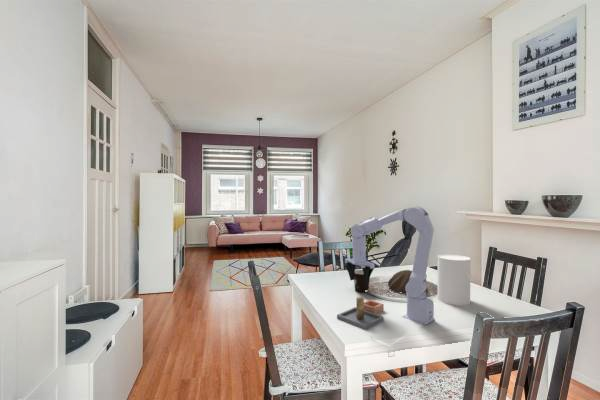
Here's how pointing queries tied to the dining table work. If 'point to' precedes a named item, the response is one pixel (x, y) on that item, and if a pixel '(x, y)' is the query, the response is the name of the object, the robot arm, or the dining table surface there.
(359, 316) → the oak peg
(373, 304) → the terracotta square socket
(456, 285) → the canister
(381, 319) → the slate tray
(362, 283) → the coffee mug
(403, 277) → the decorative dome
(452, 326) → the dining table surface
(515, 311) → the dining table surface
